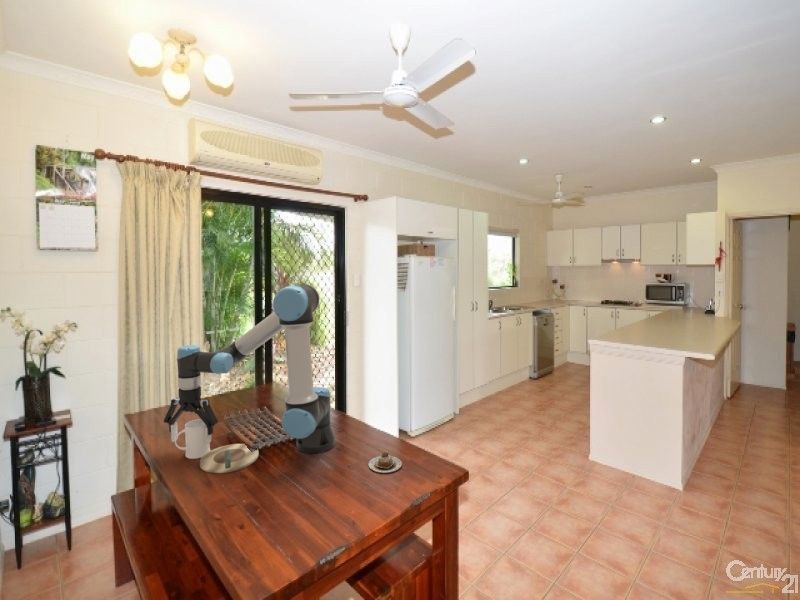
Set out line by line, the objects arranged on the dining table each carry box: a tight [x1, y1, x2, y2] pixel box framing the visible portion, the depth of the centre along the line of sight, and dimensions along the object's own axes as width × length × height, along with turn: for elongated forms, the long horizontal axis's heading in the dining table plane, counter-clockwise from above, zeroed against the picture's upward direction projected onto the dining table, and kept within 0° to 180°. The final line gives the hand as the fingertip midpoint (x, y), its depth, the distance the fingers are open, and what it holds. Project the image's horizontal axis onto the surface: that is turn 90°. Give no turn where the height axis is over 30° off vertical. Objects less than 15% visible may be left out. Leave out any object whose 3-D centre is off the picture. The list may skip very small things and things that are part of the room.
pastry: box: [368, 452, 403, 474], centre depth 142 cm, size 12×12×5 cm
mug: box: [174, 418, 212, 460], centre depth 149 cm, size 12×8×12 cm
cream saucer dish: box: [199, 443, 260, 474], centre depth 146 cm, size 20×20×7 cm
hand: (191, 441), depth 149 cm, fingers open, 13 cm apart
